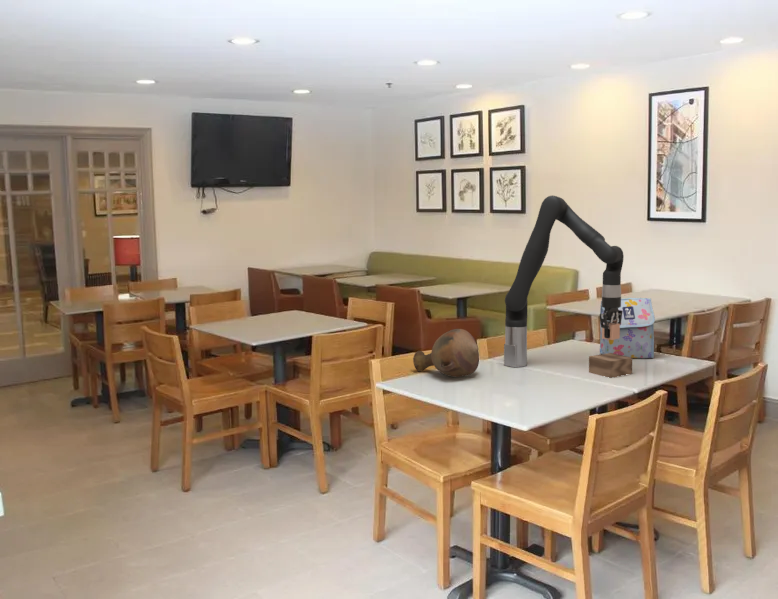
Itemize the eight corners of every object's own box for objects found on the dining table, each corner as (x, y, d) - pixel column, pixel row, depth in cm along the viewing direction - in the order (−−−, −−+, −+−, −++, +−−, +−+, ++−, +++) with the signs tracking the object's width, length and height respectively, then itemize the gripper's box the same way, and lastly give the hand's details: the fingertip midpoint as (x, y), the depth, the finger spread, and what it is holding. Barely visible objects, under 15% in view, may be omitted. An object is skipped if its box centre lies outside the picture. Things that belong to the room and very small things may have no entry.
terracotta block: (613, 339, 311) (613, 325, 310) (602, 338, 315) (602, 324, 314) (619, 338, 314) (619, 323, 314) (608, 336, 318) (608, 322, 317)
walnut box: (610, 378, 308) (610, 361, 307) (588, 372, 319) (589, 356, 318) (631, 374, 314) (632, 357, 313) (610, 369, 325) (610, 352, 324)
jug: (491, 376, 315) (434, 378, 335) (489, 328, 318) (433, 333, 338) (461, 375, 300) (403, 378, 320) (460, 325, 303) (402, 331, 323)
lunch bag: (603, 360, 340) (604, 301, 336) (596, 352, 357) (597, 296, 353) (656, 360, 338) (657, 300, 335) (646, 352, 355) (647, 295, 351)
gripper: (610, 298, 305) (609, 340, 307) (629, 294, 314) (628, 335, 317) (593, 296, 310) (593, 338, 312) (612, 293, 320) (611, 333, 322)
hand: (610, 336), depth 314 cm, fingers closed on terracotta block, 5 cm apart
